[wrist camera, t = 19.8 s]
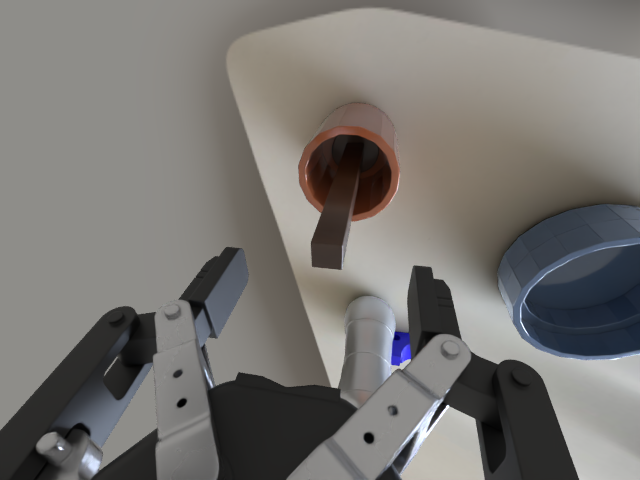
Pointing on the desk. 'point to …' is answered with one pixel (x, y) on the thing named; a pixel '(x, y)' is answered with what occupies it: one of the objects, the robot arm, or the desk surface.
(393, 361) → the cable holder
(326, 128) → the crock
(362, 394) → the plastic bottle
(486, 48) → the desk surface
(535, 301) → the bowl
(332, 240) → the disc-ended square rod
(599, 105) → the desk surface
